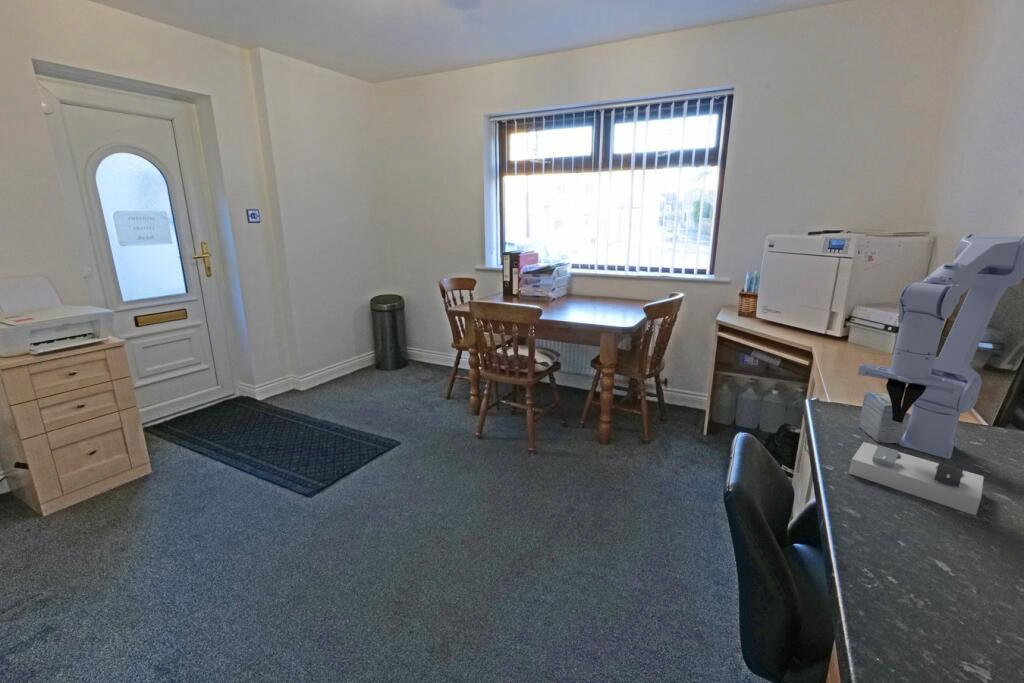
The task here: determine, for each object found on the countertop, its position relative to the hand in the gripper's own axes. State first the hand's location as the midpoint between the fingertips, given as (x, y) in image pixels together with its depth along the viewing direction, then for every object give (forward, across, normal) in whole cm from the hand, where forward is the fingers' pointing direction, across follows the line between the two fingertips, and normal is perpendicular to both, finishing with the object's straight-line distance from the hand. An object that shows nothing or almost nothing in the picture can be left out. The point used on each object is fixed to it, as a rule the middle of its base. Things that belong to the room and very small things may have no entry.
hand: (897, 420), depth 87 cm
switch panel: (+9, +4, -4) cm, 11 cm away
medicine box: (+10, -4, +15) cm, 18 cm away
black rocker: (+5, +8, -6) cm, 12 cm away
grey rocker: (+5, 0, -6) cm, 8 cm away
